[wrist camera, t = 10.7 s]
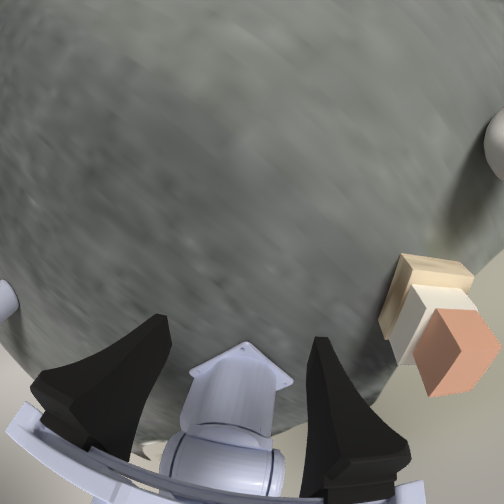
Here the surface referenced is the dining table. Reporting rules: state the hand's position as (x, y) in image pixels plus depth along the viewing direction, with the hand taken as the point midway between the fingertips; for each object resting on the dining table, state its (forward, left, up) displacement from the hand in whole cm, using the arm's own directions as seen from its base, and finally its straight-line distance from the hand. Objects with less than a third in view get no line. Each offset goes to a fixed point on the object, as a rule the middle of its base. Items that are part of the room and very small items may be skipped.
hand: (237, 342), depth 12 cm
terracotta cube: (+9, -12, -4) cm, 16 cm away
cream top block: (+8, -12, -8) cm, 17 cm away
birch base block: (+9, -12, -11) cm, 19 cm away
